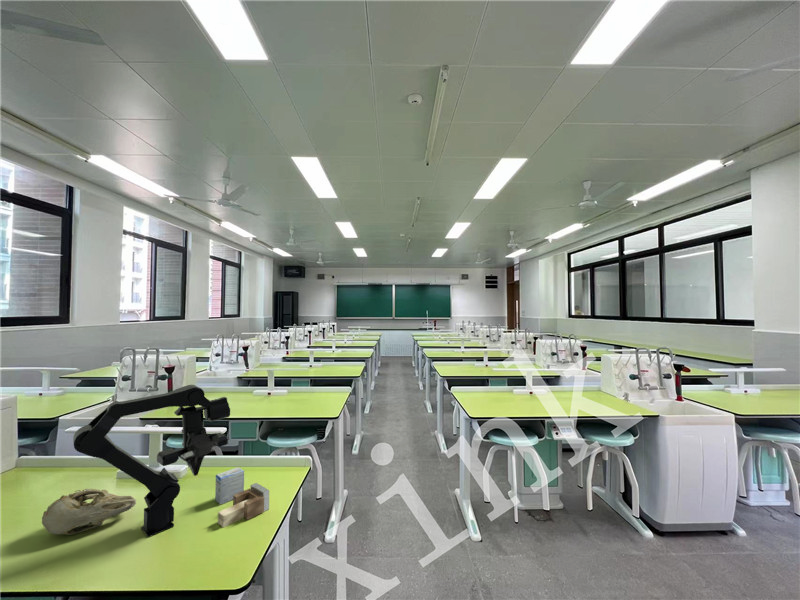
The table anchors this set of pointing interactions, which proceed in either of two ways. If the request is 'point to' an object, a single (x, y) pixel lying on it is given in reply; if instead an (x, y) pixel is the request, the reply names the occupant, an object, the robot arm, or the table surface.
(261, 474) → the table surface
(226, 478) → the medicine box
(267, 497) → the wall
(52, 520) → the skull
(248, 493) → the cradle
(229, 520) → the block
